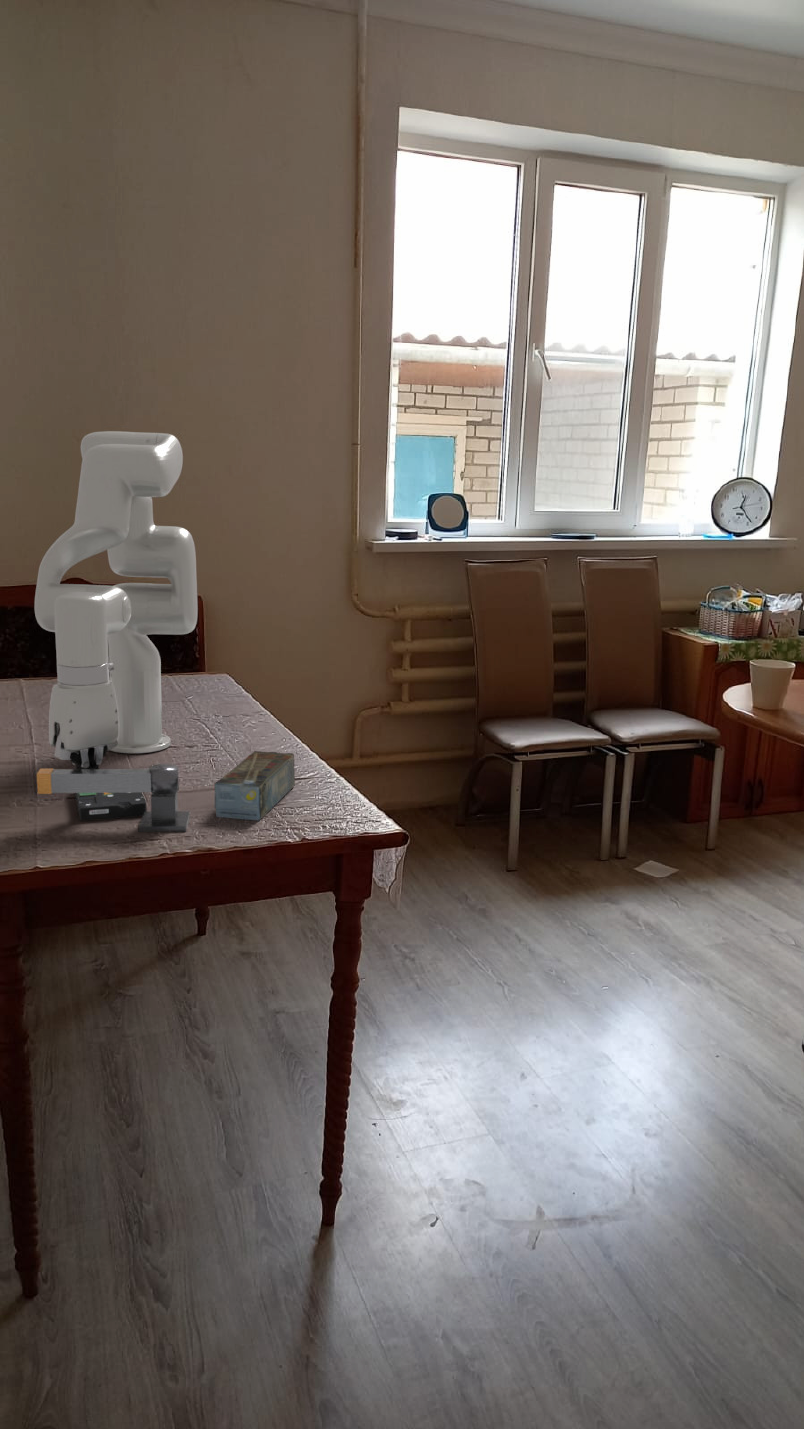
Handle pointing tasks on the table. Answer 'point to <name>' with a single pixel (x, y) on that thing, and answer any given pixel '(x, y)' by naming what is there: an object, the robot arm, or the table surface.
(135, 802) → the disk drive
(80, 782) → the swing bar
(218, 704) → the table surface
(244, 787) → the beverage carton
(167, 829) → the grey pedestal base
